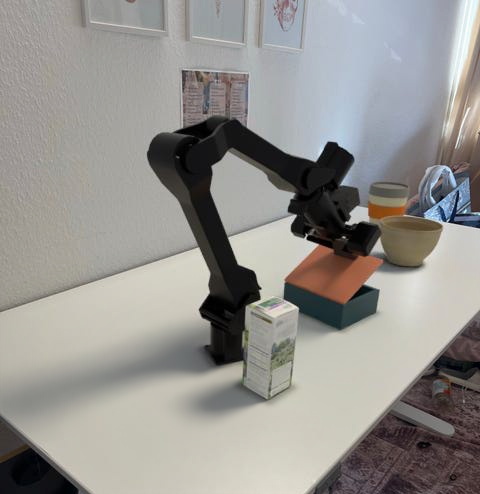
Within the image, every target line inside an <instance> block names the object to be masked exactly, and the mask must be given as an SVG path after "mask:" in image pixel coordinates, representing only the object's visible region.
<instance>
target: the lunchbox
mask: <svg viewBox="0 0 480 494" xmlns="http://www.w3.org/2000/svg"><path fill="white" fill-rule="evenodd" d="M380 291H381V289H379V288H376V287H373V286H371V285H367V284H366V283H364V284H363V285H362V286H361V287H360V288H359V290H358V291H357V292H356V293H355V294H354V295H353V296H352V297H351V298H350V299H349V300H348V302H347V303H346V304H345V305H343V304H340V303H338V302H335V301H332V300H330V299H327V298H325V297H322V296H320V295H317V294H315V293H312V292H310V291H307V290H305V289H302V288H300V287H297V286H294V285H292V284H289V283H287V282H285V281H284V283H283V297H282V299H283V300H285V301H288V302H290V303H291V304H293V305H295V306H297V307H298V308H299V312H298V313H300V314H303V315H305V316H307V317H310V318H312V319H314V320H316V321H319V322H321V323H323V324H325V325H327V326H330V327H332V328H335V329H337V330H339V331H342V330H344V329H346V328H348V327H350V326H352V325H354V324H356V323H358V322H360V321H362V320H364V319H366V318H368V317H370V316H372V315H375V314H376V313H377V311H378V303H379V297H380Z"/></svg>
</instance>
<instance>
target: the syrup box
mask: <svg viewBox="0 0 480 494" xmlns="http://www.w3.org/2000/svg"><path fill="white" fill-rule="evenodd" d="M299 313H300V312H299V308H298V307H297V306H295V305H293V304H291V303H290V302H288V301H285V300H283V298H280V297H277V296H274V295H269V296H266V297H264V298H262V299H261V300H259V301H257V302H254V303H252V304H249V305H247V306H246V313H245V331H244V334H243V348H244V359H243V361H242V380H241V382H242V383H241V385H242V386H243V387H245V388H247V389H249V390H250V391H252V392H253V393H255V394H257V395H259V396H260V397H262V398H264V399H265V400H270V399H272V398H274V397H275V396H277V395H279V394H280V393H282V392H284V391H285V390H287V389H288V388H290V387H291V386H292V381H293V370H294V369H293V368H294V360H295V350H296V341H297V332H298V331H297V330H298V321H299Z"/></svg>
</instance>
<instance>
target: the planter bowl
mask: <svg viewBox="0 0 480 494" xmlns="http://www.w3.org/2000/svg"><path fill="white" fill-rule="evenodd" d="M444 227H445V226H444V224H443V223H441V222H439V221H436V220H433V219H429V218H425V217H419V216H408V215H404V216H389V217H384V218H382V219H381V220H380V229H381V231H382V234H381V236H380V237H379V241H380V244H381V247H382V249H383V251H384V253H385V255H386V260H387V261H388V262H389V263H391V264H394V265H396V266H403V267H419V266H421V265H422V264H424V263H423V262H424V260H425V259H426V258H428V257H429V256H430V255H431V254H432V253H433V251H434V250H435V248H436V247H437V245H438V243H439V241H440V239H441V235H442V232H443V230H444Z"/></svg>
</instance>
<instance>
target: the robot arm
mask: <svg viewBox="0 0 480 494" xmlns="http://www.w3.org/2000/svg"><path fill="white" fill-rule="evenodd" d="M227 153H229V154H231V155H233V156H235V157H237V158H238V159H240V160H242V161H244V162H245V163H247V164H249V165H251V166H253V167H255V168H256V169H257V170H260V171H261V172H263V173H264V175H266V177H267V180H268V181H269V182H270V183H271V184H272V185H273V186H274V187H275V188H276V189H277V190H279V191H284V192H288V193H292V194H293V197H292V198H290V200H289V204H288V206H287V210H286V211H287V213H288V214H292V215H296V216H295V217H294V219H293V221H292V222H291V224H290V232H291V234H292V236H294V237H297V238H300V239H303V240H304V239H305V238H306V241H308V242H310V243H313V244H316V245H321V246H324V247H327V248H330V249H332V250H333V246H332V242H334V241H335V239H336V240H341V239H342V238H345V240H346V244H345V246H344V247H343V249H342V251H343V252H345V253H348V254H350V255H353V256H355V257H359V256H362V257H366V256H370V254H371V252H372V251H373V249H374V248H375V246H376V244H377V243H378V241H379V240H380V236H381V234H382V231H381V229H380V227H379V225H378V224H374V223H370V222H369V221H364V220H361V221H358V223H355V222H354V223H352V224H347V223H349V221H350V220H351V218H352V216H351V212H352V211H354V210H355V209H356V208H357V207H358V206H360V205H361V197H360V191H359V188H358V187H355V186H350V185H345V184H342V183H343V181H344V180H345V178H346V177H347V175H348V173H349V172H350V170H351V168H352V167H353V165H354V164H355V160H356V159H355V156H354V154H353V153H351V152H349V151H348V150H347V149H346V148H344V147H342V146H340V145H339V143H338V142H337V141H330V140H329V141H327V142H326V143H325V145H324V147H323V149H322V152H321V153H320V155H319V156H318V158H317V159H316V161H314V160H311V159H310V158H309V159H308V158H306V157H301V156H298V155H294V154H290V153H288V152H285V151H283V149H280V148H279V147H278V146H276V145H274V143H271V142H270V141H269V140H266V139H265V138H264V137H262V136H260V135H259V134H258V133H256V132H255V131H252V129H250V128H249V127H247V126H246V125H244V124H242V123H241V121H240V120H239V119H238V118H236V117H234V116H228V115H218V114H215V115H211V116H210V117H207V118H206V119H204V120H202V121H200V122H197V123H194V124H190V125H188V126H184V127H181V128H178V129H176V130H174V131H172V132H170V131H164V132H163V131H162V132H160V133H157V134H156V135H155V136H154V137H152V139H151V141H150V143H149V146H148V149H147V151H146V159H147V162H148V165H149V167H150V169H151V170H152V171H153V173H154V174H155V176H156V178H157V179H158V180H159V182H160V184H162V185H163V186H164V187H165V189H167V190H168V191H169V192H170V194H172V195H173V197H175V199H176V200H177V201H178V204H179V205H180V208H181V210H182V212H183V214H184V217H185V219H186V221H187V223H188V226H189V228H190V231H191V233H192V235H193V237H194V239H195V241H196V244H197V246H198V248H199V251H200V253H201V255H202V258H203V260H204V262H205V265H206V267H207V270H208V271H209V279H208V283H207V287H208V290H209V293H208V295H207V296H206V298H205V299H204V300H203V301H202V304H201V305H200V306H199V307H198V312H199V315H200V317H201V319H202V320H206V321H208V322H209V325H210V327H209V328H210V334H209V335H210V339H209V340H210V343H209V344H205V345H204V346H203V350H204V351H205V353H206V354H208V357H210V359H211V360H212V361H213V363H214V364H215V365H217V366H220V365H224V364H228V363H232V362H238V361H242V360H243V359H244V332H245V313H246V306H247V305H249V304H252V303H254V302H257V301H259V300H262V299H261V298H262V295H261V292H260V291H262V288H263V287H261V286H260V284H259V281H258V278H257V274H256V272H255V270H253V269H250V268H248V267H245V266H244V265H240V264H239V263H238V260H237V257H236V255H235V252H234V249H233V247H232V244H231V242H230V239H229V237H228V234H227V231H226V229H225V226H224V224H223V221H222V218H221V215H220V213H219V211H218V208H217V205H216V203H215V200H214V197H213V195H212V192H211V191H212V190H211V186H212V180H213V175H214V171H213V166H214V165H216V164H218V163H220V162H221V161H222V160H223V158H224V157H225V156H226V154H227ZM331 241H332V242H331Z"/></svg>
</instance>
